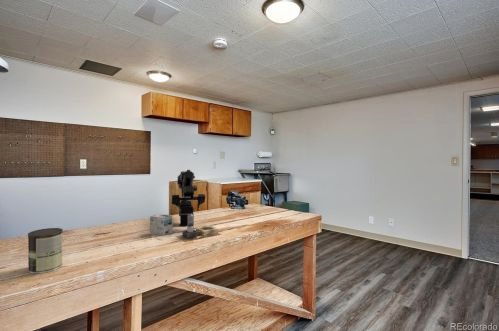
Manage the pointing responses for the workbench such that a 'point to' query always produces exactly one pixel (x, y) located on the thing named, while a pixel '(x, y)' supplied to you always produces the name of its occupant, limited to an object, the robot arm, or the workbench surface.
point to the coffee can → (44, 250)
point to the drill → (190, 223)
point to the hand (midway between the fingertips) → (189, 211)
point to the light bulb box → (160, 224)
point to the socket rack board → (199, 233)
